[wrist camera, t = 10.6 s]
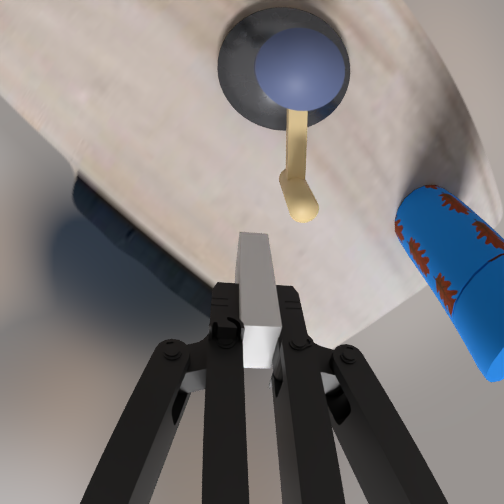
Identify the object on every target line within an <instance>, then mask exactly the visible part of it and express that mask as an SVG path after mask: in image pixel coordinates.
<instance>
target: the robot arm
mask: <svg viewBox="0 0 504 504" xmlns="http://www.w3.org/2000/svg"><path fill="white" fill-rule="evenodd" d="M272 363H273V373H272V377H271V380H270V383H269V388H271V387H272V391H273V402H274V413H275V423H276V435H277V446H278V457H279V469H280V480H281V492H282V503H283V504H345V499H344V493H343V487H342V481H341V475H340V470H339V464H338V458H337V453H336V447H335V442H334V437H333V431H332V428H333V430H334V432H335V434H336V436H337V438H338V440H339V442H340V445H341V446H342V449H343V451H344V453H345V455H346V457H347V459H348V461H349V463H350V465H351V468H352V470H353V472H354V474H355V476H356V478H357V480H358V482H359V484H360V487H361V489H362V490H363V493H364V495H365V497H366V499H367V501H368V503H369V504H448V502H447V500H446V498H445V497H444V495H443V493H442V491H441V489H440V487H439V485H438V483H437V482H436V480H435V478H434V476H433V474H432V472H431V471H430V469H429V467H428V466H427V463H426V462H425V460H424V458H423V456H422V454H421V453H420V451H419V449H418V447H417V445H416V444H415V442H414V440H413V438H412V437H411V435H410V433H409V431H408V430H407V428H406V426H405V425H404V423H403V421H402V420H401V418H400V416H399V414H398V413H397V411H396V409H395V407H394V406H393V404H392V402H391V401H390V399H389V397H388V396H387V394H386V392H385V391H384V389H383V387H382V386H381V384H380V382H379V381H378V379H377V377H376V376H375V374H374V372H373V371H372V369H371V367H370V366H369V364H368V362H367V361H366V359H365V358H364V356H363V354H362V353H361V352H360V351H359V349H357V348H356V347H354V346H352V345H347V344H345V345H340V346H337V347H336V348H335V350H332V349H328V348H325V347H322V346H319V345H317V344H315V343H314V342H313V340H312V338H311V337H310V336H308V334H307V330H306V325H305V321H304V316H303V312H302V307H301V303H300V298H299V294H298V292H297V291H296V290H295V289H294V287H293V286H282V285H276V283H275V277H274V270H273V264H272V257H271V251H270V245H269V238H268V234H262V233H249V232H240V233H239V242H238V252H237V261H236V270H235V283H222V282H217V284H216V285H215V287H214V288H213V290H212V302H211V315H210V324H209V333H208V335H207V336H206V337H205V338H204V339H203V340H201V341H200V342H197V343H193V344H188V345H186V344H185V343H184V342H182V341H180V340H176V339H169V340H165V341H163V342H161V343H159V344H158V346H157V347H156V348H155V350H154V352H153V354H152V356H151V358H150V360H149V362H148V364H147V366H146V368H145V369H144V371H143V373H142V375H141V377H140V379H139V381H138V383H137V385H136V387H135V389H134V391H133V393H132V395H131V397H130V399H129V401H128V403H127V405H126V407H125V409H124V411H123V413H122V415H121V417H120V419H119V421H118V423H117V426H116V427H115V429H114V431H113V434H112V436H111V438H110V440H109V442H108V444H107V446H106V448H105V450H104V453H103V454H102V456H101V459H100V461H99V463H98V465H97V467H96V470H95V472H94V474H93V476H92V478H91V480H90V483H89V485H88V487H87V489H86V491H85V493H84V496H83V498H82V500H81V502H80V504H149V502H150V500H151V497H152V494H153V492H154V489H155V486H156V483H157V481H158V478H159V476H160V473H161V470H162V468H163V465H164V462H165V460H166V457H167V455H168V452H169V449H170V447H171V444H172V441H173V439H174V436H175V433H176V430H177V428H178V426H179V423H180V420H181V418H182V415H183V412H184V410H185V407H186V405H187V402H188V400H189V397H190V394H191V392H194V391H199V390H203V389H205V411H204V436H203V470H202V504H249V486H248V464H247V441H246V417H245V393H244V368H271V365H272Z"/></svg>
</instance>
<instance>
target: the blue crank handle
mask: <svg viewBox="0 0 504 504" xmlns="http://www.w3.org/2000/svg"><path fill="white" fill-rule="evenodd" d="M254 74H255V78H256V80H257V83H258V84H259V86H260V88H261V89H262V90H263V91H264V92H265V94H266V95H267V96H268V97H269V98H270V99H272V100H273V101H274V102H275V103H277V104H279V105H280V106H283V107H285V108H287V129H286V169H285V170H283V171H282V172H281V174H280V176H279V182H280V185H281V188H282V191H283V194H284V197H285V200H286V203H287V207H288V210H289V213H290V216H291V217H292V218H293V219H294V220H295V221H297V222H300V223H306V222H309V221H311V220H313V219H314V218H315V217H316V215H317V214H318V211H319V206H318V203H317V201H316V199H315V197H314V195H313V193H312V191H311V190H310V188H309V186H308V184H307V182H306V180H305V170H306V146H307V115H308V111H309V110H314V109H317V108H320V107H322V106H324V105H326V104H328V103H329V102H330V101H331V100H332V99H333V98H334V97H335V96H336V95H337V94H338V92H339V91H340V89H341V87H342V84H343V81H344V77H345V66H344V61H343V58H342V55H341V53H340V51H339V49H338V48H337V46H336V45H335V44H334V43H333V42H332V41H331V40H330V39H329V38H328V37H326V36H325V35H323V34H321V33H319V32H317V31H315V30H311V29H307V28H290V29H286V30H283V31H280V32H278V33H276V34H275V35H273V36H272V37H271V38H269V39H268V40H267V41H266V42H265V43H264V44H263V45H262V46H261V48H260V49H259V51H258V53H257V55H256V57H255V62H254Z"/></svg>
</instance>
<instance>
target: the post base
mask: <svg viewBox="0 0 504 504" xmlns="http://www.w3.org/2000/svg"><path fill="white" fill-rule="evenodd" d="M290 28H307V29H311V30H315V31H317V32H319V33H321V34H323V35H325V36H326V37H328V38H329V39H330V40H331V41H332V42H333V43H334V44H335V45H336V46H337V48H338V49H339V51H340V53H341V55H342V58H343V61H344V66H345V77H344V81H343V84H342V87H341V89H340V91H339V92H338V94H337V95H336V96H335V97H334V98H333V99H332V100H331V101H330V102H329V103H328V104H326V105H324V106H322V107H320V108H317V109H314V110H309V111H308V115H307V127H309V126H312V125H314V124H316V123H318V122H320V121H322V120H323V119H325V118H326V117H327V116H329V115H330V114H331V113H332V112H333V111H334V110H335V109H336V108H337V106H338V105H339V104H340V103H341V101H342V99H343V97H344V96H345V93H346V91H347V88H348V84H349V79H350V63H349V57H348V54H347V51H346V48H345V46H344V44H343V42H342V40H341V39H340V37H339V36H338V34H337V33H336V32H335V31H334V30H333V29H332V28H331V27H330V26H329V25H328V24H327V23H326V22H324V21H323V20H322V19H320V18H318V17H317V16H315V15H313V14H311V13H308V12H305V11H302V10H298V9H294V8H270V9H266V10H262V11H259V12H256V13H254V14H251V15H250V16H248V17H246V18H244V19H243V20H242V21H240V22H239V23H238V24H237V25H236V26H235V27H234V28H233V29H232V30H231V31H230V32H229V34H228V35H227V37H226V38H225V40H224V42H223V44H222V47H221V49H220V52H219V57H218V77H219V82H220V85H221V88H222V90H223V93H224V95H225V96H226V98H227V100H228V101H229V103H230V104H231V105H232V106H233V108H234V109H235V110H236V111H237V112H238V113H240V114H241V115H242V116H243V117H245V118H246V119H248V120H249V121H251V122H253V123H255V124H257V125H259V126H262V127H266V128H269V129H274V130H284V131H285V130H286V129H287V108H285V107H283V106H280V105H279V104H277V103H275V102H274V101H273V100H272V99H270V98H269V97H268V96H267V95H266V94H265V92H264V91H263V90H262V89H261V88H260V86H259V84H258V83H257V80H256V78H255V74H254V62H255V57H256V55H257V53H258V51H259V49H260V48H261V46H262V45H263V44H264V43H265V42H266V41H267V40H268V39H269V38H271V37H272V36H273V35H275V34H276V33H278V32H280V31H283V30H286V29H290Z"/></svg>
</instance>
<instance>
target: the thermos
mask: <svg viewBox="0 0 504 504" xmlns="http://www.w3.org/2000/svg"><path fill="white" fill-rule="evenodd" d="M395 232H396V235H397V237H398V239H399V241H400V243H401V244H402V246H403V247H404V249H405V251H406V252H407V254H408V256H409V257H410V258H411V260H412V261H413V263H414V264H415V266H416V267H417V268H418V270H419V271H420V273H421V274H422V276H423V277H424V279H425V280H426V282H427V283H428V285H429V286H430V288H431V289H432V290H433V292H434V294H435V295H436V297H437V298H438V300H439V301H440V303H441V305H442V306H443V308H444V309H445V311H446V313H447V314H448V316H449V317H450V319H451V321H452V322H453V324H454V325H455V327H456V329H457V331H458V332H459V334H460V336H461V338H462V339H463V341H464V343H465V345H466V346H467V348H468V350H469V352H470V354H471V355H472V357H473V359H474V361H475V363H476V365H477V367H478V368H479V370H480V371H481V372H482V374H483V375H484V376H485V378H486V379H487V380H488V381H490V382H496V381H500V380H502V379H504V239H503V238H502V237H501V236H500V235H499V234H498V233H497V232H496V231H494V229H493V228H491V227H490V226H489V225H488V224H487V223H486V222H485V221H484V220H483V219H482V218H480V217H479V216H478V215H477V214H476V213H475V212H474V211H472V210H471V209H470V208H469V207H468V206H467V205H465V204H464V203H463V202H462V201H461V200H459V199H458V198H457V197H455V196H454V195H452V194H451V193H449V192H448V191H447V190H445V189H443V188H441V187H439V186H436V185H425V186H423V187H420V188H418V189H416V190H414V191H413V192H412V193H411V194H409V195H408V196H407V197H406V198H405V199H404V201H403V202H402V204H401V205H400V207H399V209H398V211H397V215H396V218H395Z"/></svg>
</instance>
